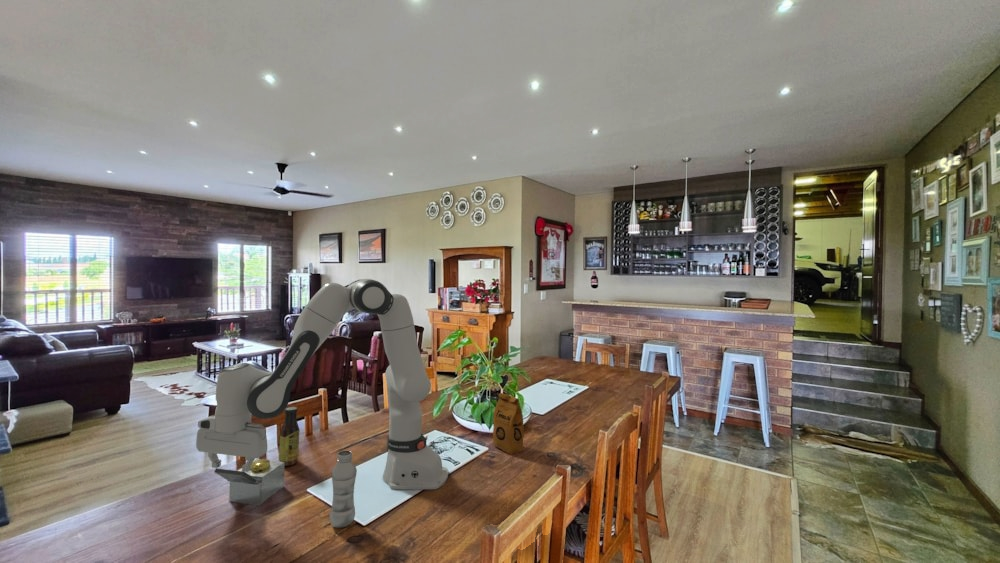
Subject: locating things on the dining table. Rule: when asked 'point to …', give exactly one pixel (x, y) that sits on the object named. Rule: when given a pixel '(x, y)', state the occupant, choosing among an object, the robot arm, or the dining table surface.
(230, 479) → the dark grey flat plate
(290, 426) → the sauce bottle
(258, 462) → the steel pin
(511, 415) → the coffee package
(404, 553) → the dining table surface
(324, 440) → the dining table surface
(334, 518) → the plastic bottle
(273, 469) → the grey box-shaped block
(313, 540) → the dining table surface
